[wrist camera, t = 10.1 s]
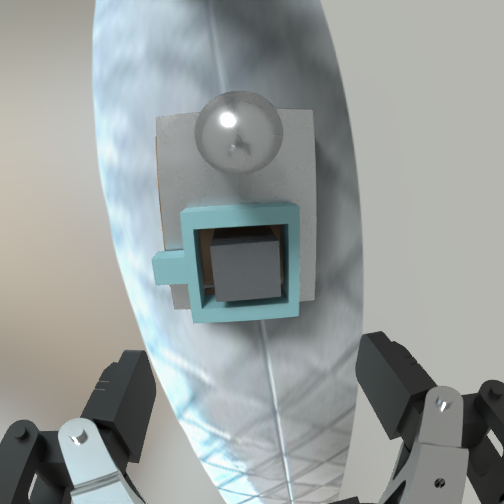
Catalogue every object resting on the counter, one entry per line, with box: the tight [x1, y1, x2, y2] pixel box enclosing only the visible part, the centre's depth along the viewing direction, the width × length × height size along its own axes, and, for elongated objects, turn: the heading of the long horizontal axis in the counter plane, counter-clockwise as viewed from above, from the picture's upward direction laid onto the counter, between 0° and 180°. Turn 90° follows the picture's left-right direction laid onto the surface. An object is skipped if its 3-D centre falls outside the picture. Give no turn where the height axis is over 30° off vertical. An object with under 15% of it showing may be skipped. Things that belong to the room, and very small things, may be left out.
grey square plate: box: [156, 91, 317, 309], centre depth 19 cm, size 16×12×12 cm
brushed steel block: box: [210, 225, 281, 302], centre depth 22 cm, size 4×4×7 cm
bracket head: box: [152, 202, 300, 323], centre depth 21 cm, size 8×11×2 cm
